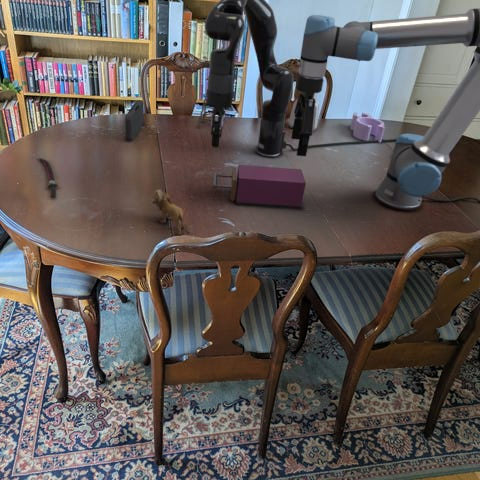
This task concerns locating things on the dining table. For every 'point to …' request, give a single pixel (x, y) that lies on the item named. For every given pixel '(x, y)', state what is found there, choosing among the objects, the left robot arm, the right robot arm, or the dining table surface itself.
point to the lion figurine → (169, 209)
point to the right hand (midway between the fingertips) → (298, 147)
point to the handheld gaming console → (134, 120)
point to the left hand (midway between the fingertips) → (216, 141)
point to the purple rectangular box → (270, 186)
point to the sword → (52, 181)
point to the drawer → (233, 186)
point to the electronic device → (292, 117)
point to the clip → (366, 127)
